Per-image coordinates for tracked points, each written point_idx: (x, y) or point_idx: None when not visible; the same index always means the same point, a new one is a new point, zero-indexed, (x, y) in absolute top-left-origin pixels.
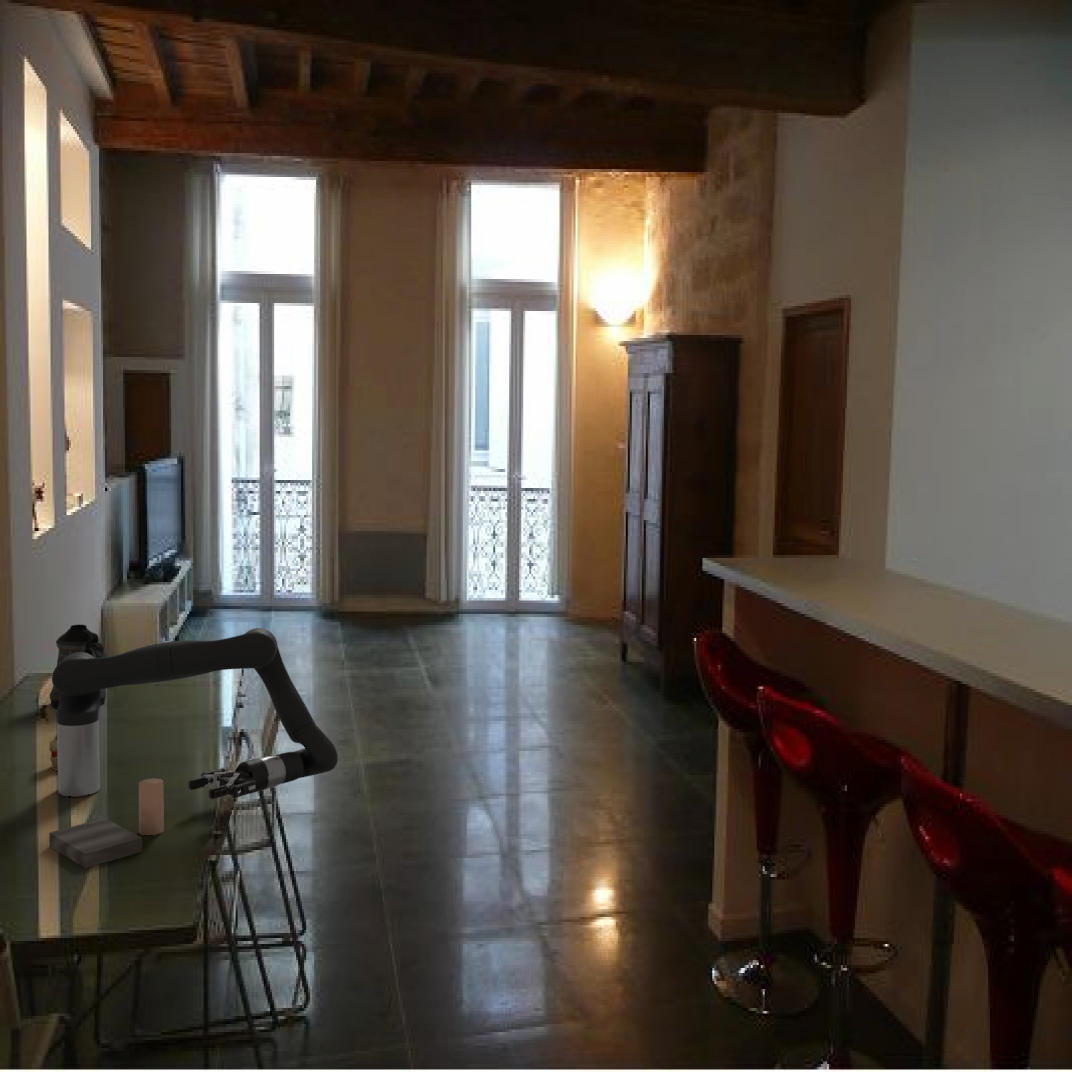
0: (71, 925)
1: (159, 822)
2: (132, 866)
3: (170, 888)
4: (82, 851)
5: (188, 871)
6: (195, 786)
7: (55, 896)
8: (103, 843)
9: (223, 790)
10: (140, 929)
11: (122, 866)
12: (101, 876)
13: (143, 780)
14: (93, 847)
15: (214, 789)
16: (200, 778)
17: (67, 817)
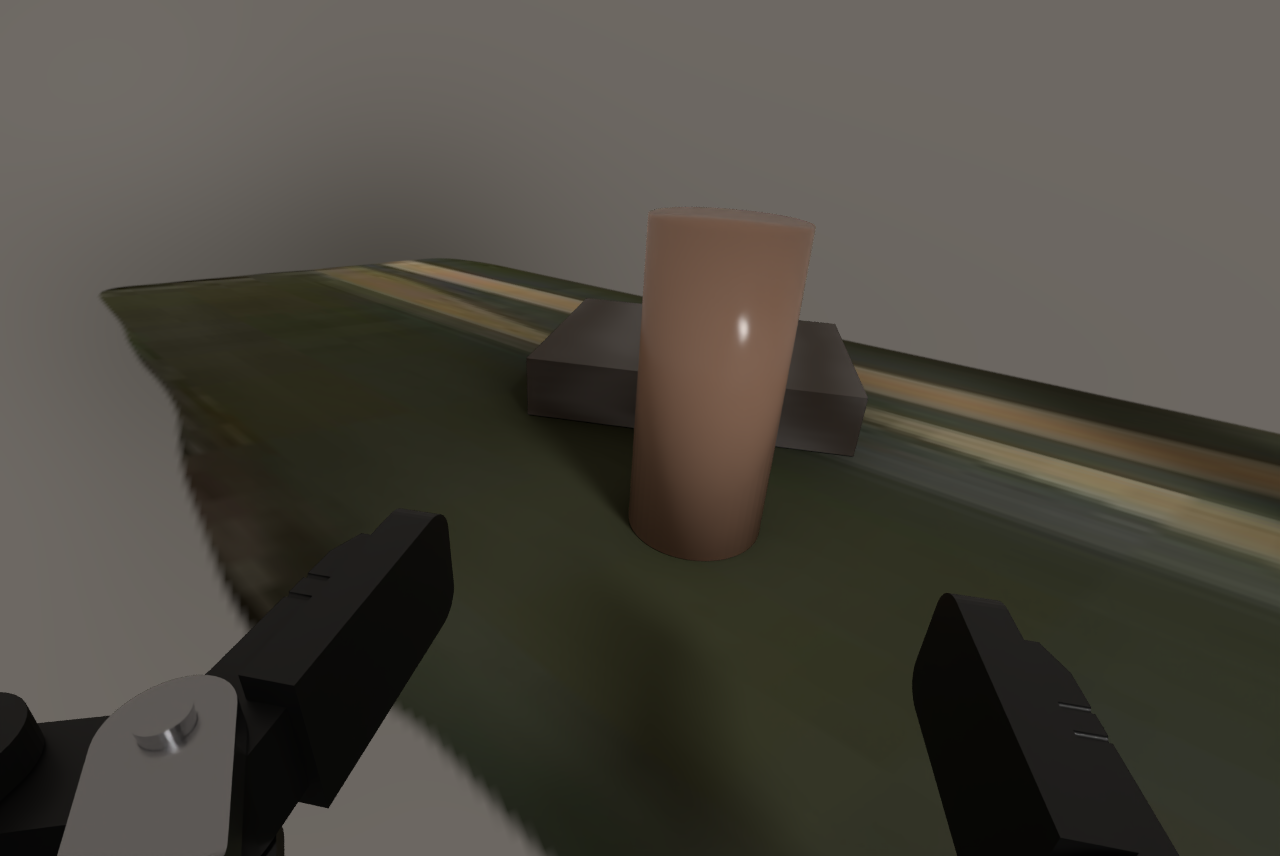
0: (386, 272)
1: (632, 459)
2: (465, 368)
3: (240, 340)
4: (608, 301)
5: (227, 389)
6: (942, 731)
7: (516, 296)
8: (608, 323)
9: (250, 648)
10: (224, 279)
11: (496, 363)
12: (501, 335)
13: (804, 223)
14: (606, 311)
15: (372, 538)
16: (1017, 737)
17: (1149, 478)
